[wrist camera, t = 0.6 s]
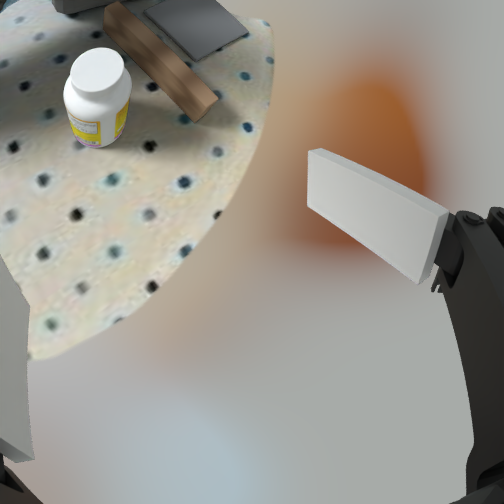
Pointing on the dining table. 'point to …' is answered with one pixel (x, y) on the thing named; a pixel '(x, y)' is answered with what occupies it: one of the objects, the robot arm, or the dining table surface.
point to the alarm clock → (78, 5)
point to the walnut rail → (158, 61)
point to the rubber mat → (196, 25)
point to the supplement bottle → (98, 97)
